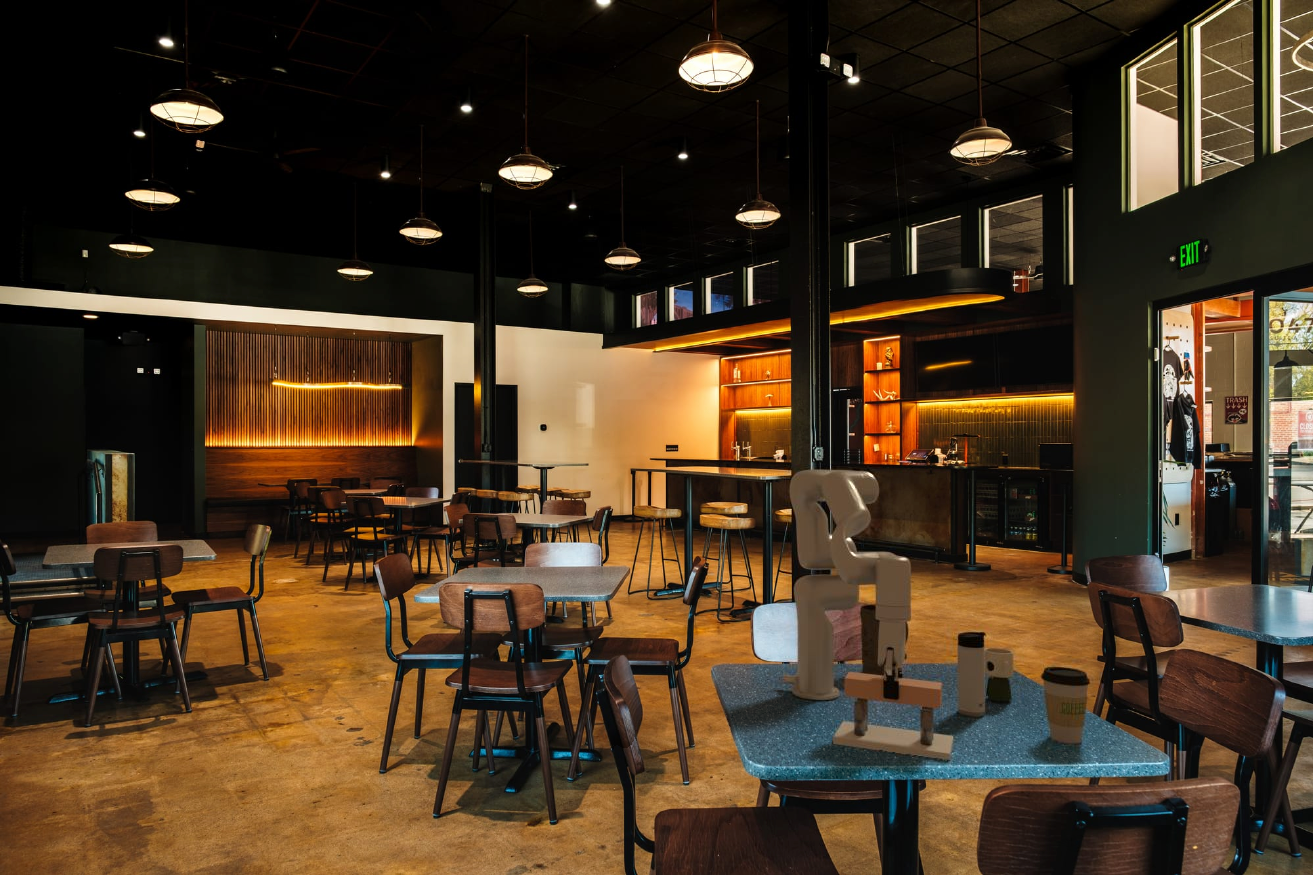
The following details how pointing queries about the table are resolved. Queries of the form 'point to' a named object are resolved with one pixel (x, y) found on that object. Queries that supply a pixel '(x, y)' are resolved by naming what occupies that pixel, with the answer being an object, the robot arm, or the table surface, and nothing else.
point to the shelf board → (908, 690)
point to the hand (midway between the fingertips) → (893, 693)
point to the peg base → (894, 741)
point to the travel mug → (971, 674)
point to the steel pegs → (925, 721)
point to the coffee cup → (1065, 702)
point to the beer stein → (871, 640)
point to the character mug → (998, 673)
